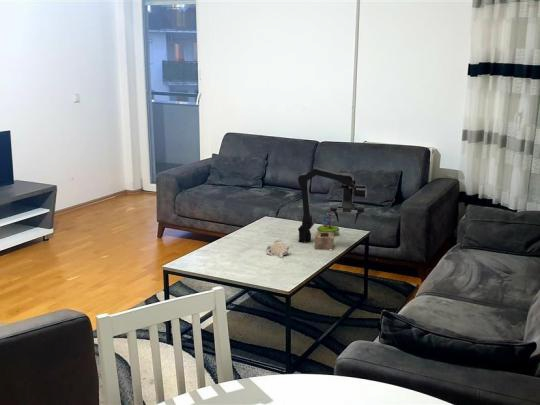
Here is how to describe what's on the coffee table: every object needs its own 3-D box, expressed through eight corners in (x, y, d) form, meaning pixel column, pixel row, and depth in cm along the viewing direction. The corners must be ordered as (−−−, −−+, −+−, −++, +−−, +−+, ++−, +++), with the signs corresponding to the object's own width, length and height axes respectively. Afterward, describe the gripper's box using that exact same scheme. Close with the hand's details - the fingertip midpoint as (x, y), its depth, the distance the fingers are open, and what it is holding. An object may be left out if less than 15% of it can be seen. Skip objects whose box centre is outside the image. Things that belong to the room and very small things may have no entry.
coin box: (314, 249, 341) (315, 237, 339) (316, 243, 350) (316, 231, 349) (332, 249, 340) (333, 237, 338) (333, 244, 349) (333, 232, 347)
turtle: (293, 259, 334) (295, 241, 335) (288, 258, 325) (291, 240, 326) (265, 255, 339) (268, 237, 339) (261, 255, 330) (263, 236, 330)
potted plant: (313, 234, 367) (313, 210, 363) (322, 229, 377) (322, 205, 374) (334, 238, 360) (335, 213, 356) (342, 232, 371) (343, 208, 367)
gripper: (330, 199, 335) (329, 226, 338) (364, 200, 332) (363, 227, 336) (331, 194, 345) (330, 220, 349) (364, 195, 343) (363, 222, 347)
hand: (346, 223), depth 345 cm, fingers open, 9 cm apart
